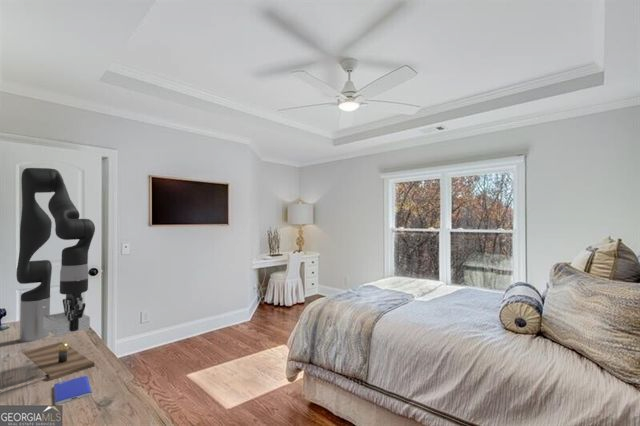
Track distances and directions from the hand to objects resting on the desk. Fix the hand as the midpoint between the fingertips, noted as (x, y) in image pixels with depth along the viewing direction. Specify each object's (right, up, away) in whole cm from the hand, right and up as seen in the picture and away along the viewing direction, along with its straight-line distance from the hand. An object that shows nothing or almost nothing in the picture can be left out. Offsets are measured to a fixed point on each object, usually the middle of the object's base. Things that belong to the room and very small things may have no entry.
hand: (73, 330), depth 106 cm
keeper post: (-7, -13, +5) cm, 15 cm away
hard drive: (+9, -14, -12) cm, 21 cm away
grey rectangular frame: (-5, -1, +4) cm, 6 cm away
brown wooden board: (-12, -14, +8) cm, 20 cm away
